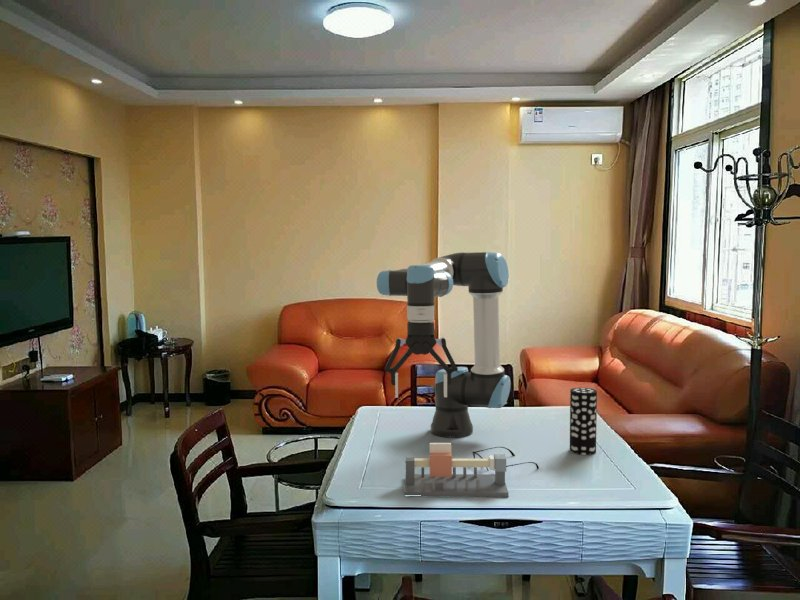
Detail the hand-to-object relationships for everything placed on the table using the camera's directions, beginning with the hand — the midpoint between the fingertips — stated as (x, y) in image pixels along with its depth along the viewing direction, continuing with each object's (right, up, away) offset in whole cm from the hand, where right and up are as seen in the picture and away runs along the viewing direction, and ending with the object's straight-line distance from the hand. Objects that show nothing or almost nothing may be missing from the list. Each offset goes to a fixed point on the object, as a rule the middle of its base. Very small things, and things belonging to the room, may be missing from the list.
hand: (421, 396), depth 185 cm
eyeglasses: (+26, -24, +18) cm, 40 cm away
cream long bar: (+10, -20, 0) cm, 23 cm away
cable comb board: (+9, -25, 0) cm, 27 cm away
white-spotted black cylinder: (+54, -22, +31) cm, 66 cm away
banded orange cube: (+5, -21, 0) cm, 22 cm away
